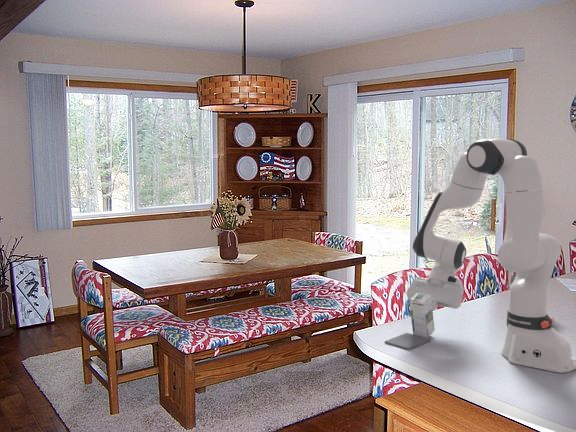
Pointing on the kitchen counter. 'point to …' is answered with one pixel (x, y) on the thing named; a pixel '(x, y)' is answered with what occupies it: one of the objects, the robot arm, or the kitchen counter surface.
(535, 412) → the kitchen counter surface
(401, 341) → the mat
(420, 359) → the kitchen counter surface
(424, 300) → the syrup box
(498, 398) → the kitchen counter surface
